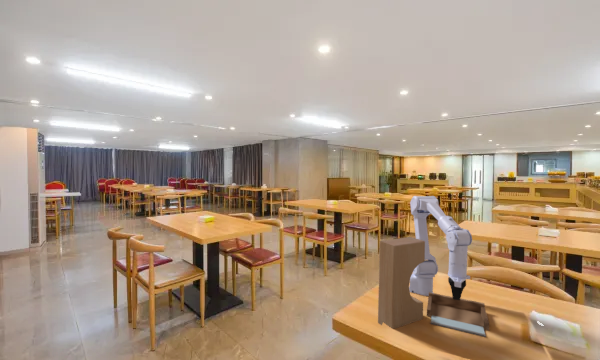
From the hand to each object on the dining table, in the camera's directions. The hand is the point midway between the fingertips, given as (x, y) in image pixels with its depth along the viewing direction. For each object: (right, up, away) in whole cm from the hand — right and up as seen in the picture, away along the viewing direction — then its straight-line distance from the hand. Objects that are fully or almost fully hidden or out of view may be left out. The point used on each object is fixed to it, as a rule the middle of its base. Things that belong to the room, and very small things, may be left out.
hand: (456, 299), depth 101 cm
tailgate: (-1, -7, -3) cm, 8 cm away
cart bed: (+1, -8, +3) cm, 9 cm away
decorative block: (-21, -9, 0) cm, 22 cm away
